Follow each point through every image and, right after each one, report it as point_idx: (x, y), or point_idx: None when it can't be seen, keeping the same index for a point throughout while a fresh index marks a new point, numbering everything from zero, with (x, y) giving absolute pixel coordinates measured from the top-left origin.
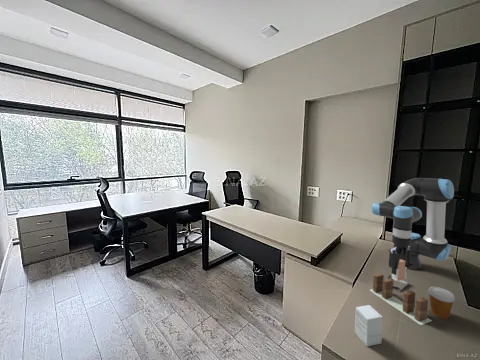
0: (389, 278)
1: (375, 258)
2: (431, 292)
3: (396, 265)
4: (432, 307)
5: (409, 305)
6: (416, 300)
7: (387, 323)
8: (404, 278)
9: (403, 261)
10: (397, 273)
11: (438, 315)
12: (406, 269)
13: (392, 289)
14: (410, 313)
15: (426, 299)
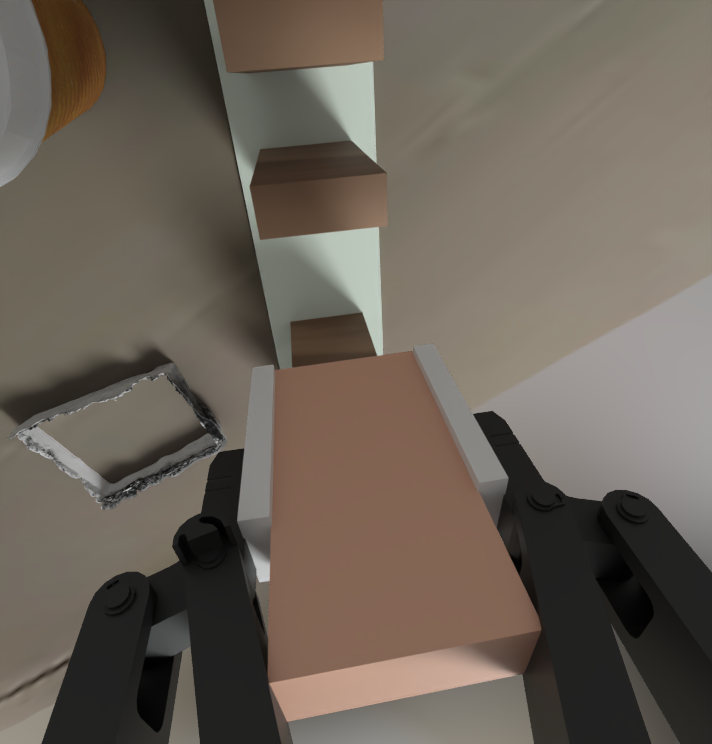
0: (139, 479)
1: (60, 633)
2: (24, 87)
3: (585, 557)
4: (89, 69)
5: (329, 154)
6: (382, 50)
7: (593, 94)
8: (274, 372)
9: (339, 669)
10: (473, 418)
11: (80, 2)
12: (245, 478)
13: (295, 356)
14: (319, 132)
15: (226, 10)
